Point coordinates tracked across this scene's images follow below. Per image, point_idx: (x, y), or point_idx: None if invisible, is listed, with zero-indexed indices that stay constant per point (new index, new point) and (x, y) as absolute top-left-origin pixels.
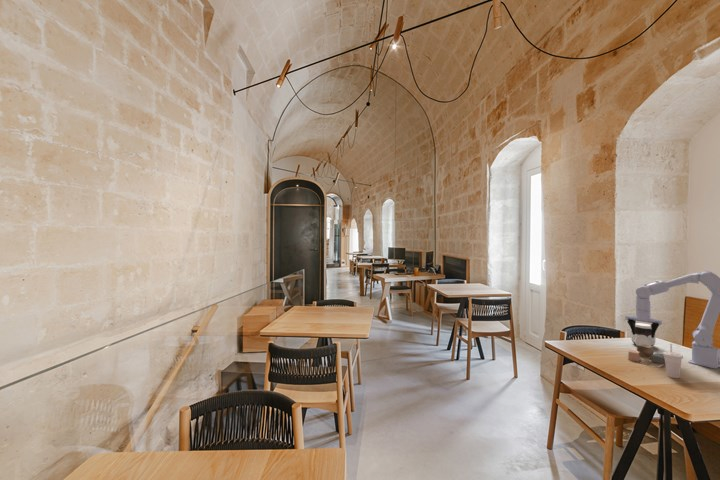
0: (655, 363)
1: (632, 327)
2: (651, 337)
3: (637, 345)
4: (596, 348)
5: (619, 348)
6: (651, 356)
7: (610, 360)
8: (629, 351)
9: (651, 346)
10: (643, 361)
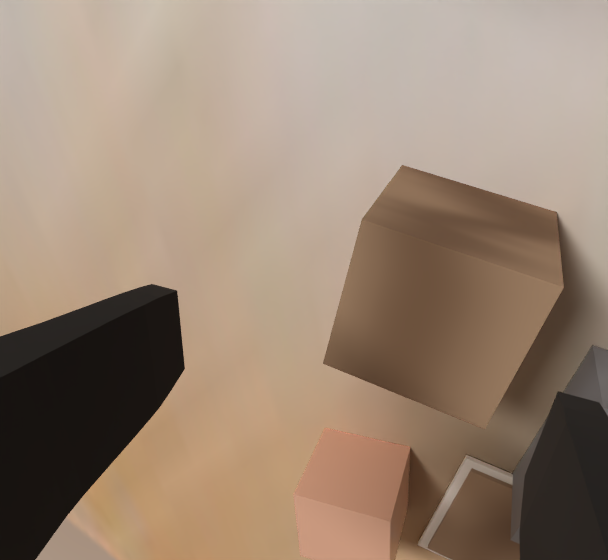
0: None
1: (35, 527)
2: (525, 484)
3: (330, 366)
4: (49, 290)
5: (157, 120)
6: (514, 528)
7: (241, 547)
8: (306, 548)
9: (528, 319)
10: (443, 521)
